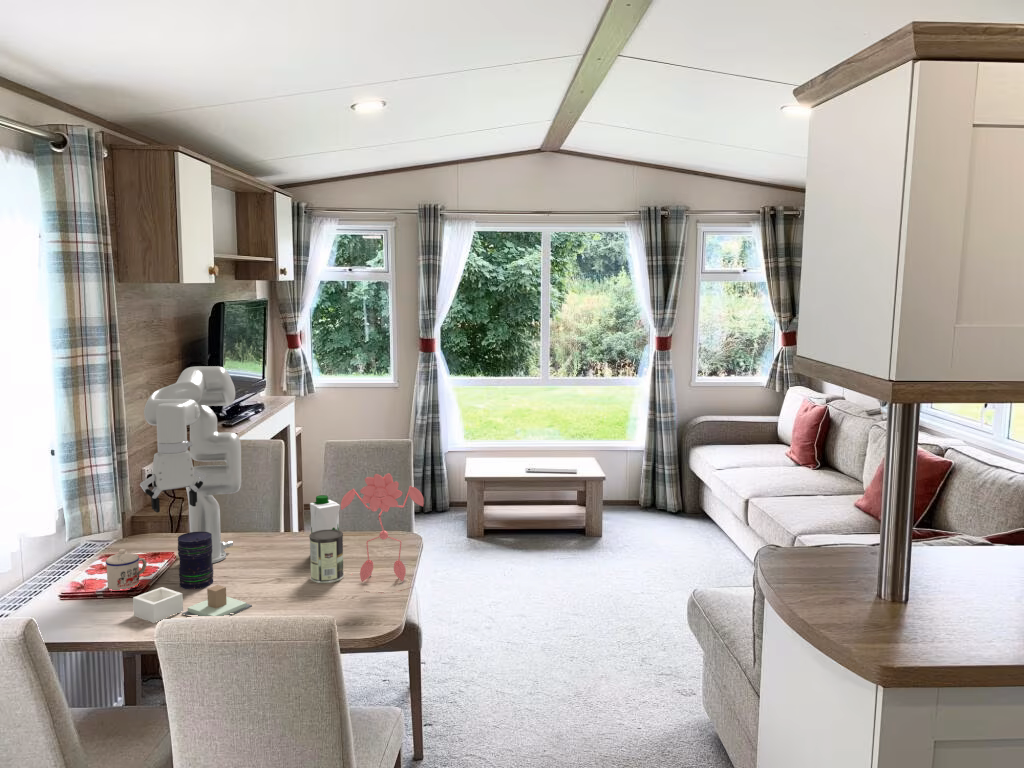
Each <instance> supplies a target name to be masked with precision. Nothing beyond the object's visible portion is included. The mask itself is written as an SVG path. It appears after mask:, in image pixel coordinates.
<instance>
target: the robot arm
mask: <svg viewBox="0 0 1024 768" xmlns="http://www.w3.org/2000/svg"><path fill="white" fill-rule="evenodd" d="M235 398H236V387H235V385H234V382H233V380H232V378H231V375H230V373H229V372H228V371H227V369H226V368H224V367H223V366H219V365H217V366H216V365H215V366H213V365H212V366H211V365H210V366H208V365H207V366H205V365H204V366H200V365H199V366H190V367H186V368H185V369H184V370H182V372H181V373H180V374H179V376H178V378H177V381H176V382H175V383H172V384H170V385H167V386H164V387H161V388H159V389H157V390H155V391H153V392H152V393H151V394H150V396H149V397H148V399H147V401H146V403H145V406H144V409H143V416H144V420H145V422H147V424H148V425H150V426H156V441H157V452H156V453H154V455H153V460H152V461H153V462H152V471H151V472H152V473H151V474H152V475H151V476H149V477H148V478H146V479H145V480H143V481H141V482H140V483H139V486H140V487H141V489H142V490H143V492H144V493H145V494H146V495H148V497H149V496H150V501H151V502H150V504H151V509H152V510H153V511H154V512H155V513H160V510H161V509H160V508H161V507H160V506H161V504H160V498H159V495H160V494H161V492H162V491H171V490H176V489H182V488H183V489H184V488H185V489H186V495H187V500H188V503H187V504H188V518H189V533H190V532H209V533H211V534H212V538H211V539H212V549H213V550H212V564H216V563H218V562H221V561H223V560H224V559H226V557H227V552H226V551H225V550H226V549H227V548H230V547H232V546H233V545H234V544H233V543H234V542H233V541H232V540H229V541H224V540H223V541H222V540H221V539H222V538H221V535H222V534H221V510H220V508H221V507H220V504H219V501H217V499H216V498H215V497H214V495H226V494H227V495H228V494H236V493H238V492H239V491H240V489H241V486H242V443H241V439H240V437H239V434H237V433H235V432H231V431H230V432H225V431H223V432H219V431H218V417H217V415H216V413H215V412H214V410H213V409H211V407H212V406H214V407H218V406H219V407H221V406H222V407H223V406H230V405H232V404H233V403H234V402H235ZM187 426H189V440H188V429H187ZM193 461H197V462H225V463H226V464H219V465H218V464H217V465H215V464H212V465H210V464H209V465H196V466H194V464H193ZM150 484H151V485H152V487H153V489H152V490H151V489H150V488H149V485H150Z"/></svg>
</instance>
